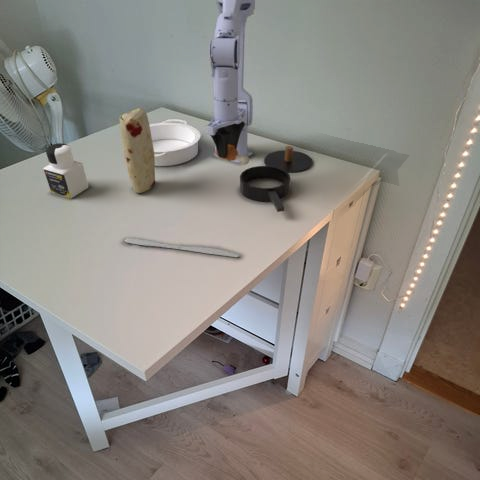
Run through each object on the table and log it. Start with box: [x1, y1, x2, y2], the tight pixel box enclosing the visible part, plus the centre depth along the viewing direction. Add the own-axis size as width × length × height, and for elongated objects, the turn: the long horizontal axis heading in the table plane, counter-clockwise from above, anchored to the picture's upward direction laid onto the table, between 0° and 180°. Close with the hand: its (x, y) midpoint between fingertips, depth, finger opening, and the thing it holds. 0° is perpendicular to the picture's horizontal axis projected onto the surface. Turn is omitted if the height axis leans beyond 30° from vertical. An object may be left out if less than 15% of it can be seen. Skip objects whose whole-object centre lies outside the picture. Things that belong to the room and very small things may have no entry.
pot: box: [149, 118, 201, 167], centre depth 134 cm, size 29×22×5 cm
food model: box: [118, 107, 156, 194], centre depth 112 cm, size 10×7×20 cm
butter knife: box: [123, 237, 240, 258], centre depth 99 cm, size 1×27×3 cm
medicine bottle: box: [43, 142, 89, 200], centre depth 114 cm, size 7×7×12 cm
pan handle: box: [268, 190, 286, 213], centre depth 108 cm, size 9×2×1 cm, turn 12°
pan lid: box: [263, 145, 313, 174], centre depth 128 cm, size 14×14×5 cm
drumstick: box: [216, 144, 250, 166], centre depth 111 cm, size 10×4×4 cm, turn 58°
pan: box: [239, 165, 292, 203], centre depth 116 cm, size 13×13×4 cm
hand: (227, 154), depth 112 cm, fingers closed on drumstick, 4 cm apart
